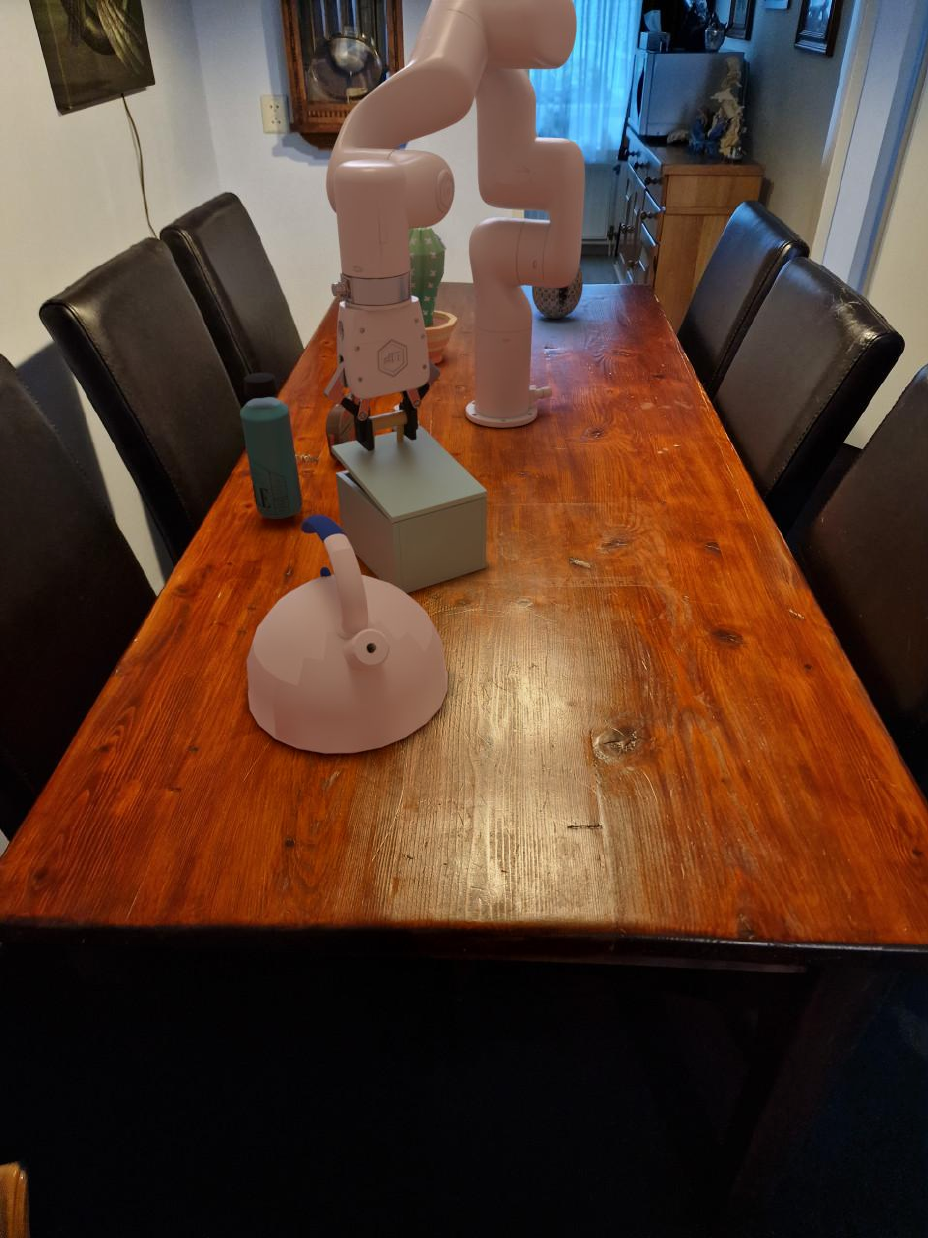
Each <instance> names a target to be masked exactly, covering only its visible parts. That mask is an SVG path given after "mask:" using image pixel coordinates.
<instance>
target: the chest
mask: <svg viewBox="0 0 928 1238" xmlns="http://www.w3.org/2000/svg"><path fill="white" fill-rule="evenodd" d="M335 478H336V479H335V480H336V488H337V489H336V490H337V498H338V508H339V517H340V518H339V520H340V528H341V529H342V530H343V532H344V533H345V534H346V537H347V539H348V541H349V542H350V544H351V546H352V548H353V550H354V553H355V556H356V557H358V559H360V561H362V562H363V563H364V564H365V566H366V567H368V569H369V570H371V572H372V573H373V574H374V575H375V576H376V577H377V579H378V580H381V581H384V582H387V583H390V584H392V585H394V586H395V587H397V588H399V589H401V590H402V591H404V592H405V593H406V594H409V593H413V592H415V591H418V590H422V589H424V588H427V587H430V586H434V585H437V584H441V583H443V582H446V581H449V580H452V579H456V578H459V577H462V576H464V575H467V574H468V575H469V574H471V573H473V572H477V571H480V570H483V569H486V568H487V539H488V537H487V535H488V533H487V532H488V528H487V527H488V496H486V497H483V498H479V499H476V500H472V501H469V502H465V503H461V504H458V505H454V506H451V507H447V508H444V509H440V510H437V511H433V512H430V513H426V514H422V515H419V516H415V517H412V518H408V519H405V520H401V521H398V522H394V523H392V522H391V521H390V520H389V519H388V518H387V516H386V515H385V514H384V513H383V512H382V510H381V509H380V508H379V507H378V506H377V505H376V503H375V502H374V501H373V500H372V499H371V497H370V496H369V495H368V494H367V493H366V492H365V490H364V489H363V488H362V487H361V486H360V484H359V483H358V482H357V481H356V480H355V479H354V477H353V476H352V475H351V474H350V473H349V471H348V470H347V469H345V470H342V471H338V472H335Z"/></svg>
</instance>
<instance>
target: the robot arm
mask: <svg viewBox="0 0 928 1238" xmlns="http://www.w3.org/2000/svg"><path fill="white" fill-rule="evenodd" d="M576 11H577V10H576V7H575V3H574V1H573V0H431V2H430V4H429V7H428V9H427V12H426V15H425V17H424V19H423V22H422V24H421V27H420V30H419V33H418V35H417V37H416V41H415V43H414V46H413V48H412V50H411V53H410V55H409V59H408V60H407V64H406V65H405V67H403V68H401V69H400V70H399V71H397V72H395V73H394V74H393V75H391V76H390V77H388V78H387V79H385V81H383V82H382V83H381V84H379V85H378V86H377V87H376V88H374V89H373V90H372V91H371V92H369V93H368V94H367V95H365V96H364V97H363V98H362V99H361V100H360V101H358V103H357V104H356V105H355V106H353V108H352V109H351V110H350V112H349V113H348V115H346V118H345V119H344V121H343V123H342V126H341V128H340V130H339V133H338V136H337V138H336V140H335V143H334V146H333V148H332V150H331V153H330V156H329V162H328V165H327V169H326V176H325V177H326V178H325V191H326V197H327V201H328V202H329V205H330V207H331V209H332V211H333V212H334V213H335V214H336V223H337V235H338V245H339V255H340V267H341V272H340V274H339V277H340V279H339V281H337V282H334V283H331V287H330V289H331V293H332V295H333V297H341V298H342V299H343V301H340V302H339V305H338V313H337V323H336V324H337V325H336V357H337V358H336V359H337V360H336V361H337V367H336V370H335V372H334V374H333V376H332V378H331V379H330V380H329V382H328V383H327V386H326V387H325V389H324V391H323V394H324V396H325V397H326V398H327V399H328V400H329V401H331V402H333V403H334V404H335V405H336V404H338V405H340V406H342V407H343V408H345V409H346V410H347V411H349V412H350V413H351V414H353V417H354V428H355V437H356V440H357V442H358V443H360V444H361V445H362V446H363V447H364V448H365V449H367V450H368V451H371V450H373V449H374V437H373V424H372V420H371V419H370V418H369V417H368V410H369V406H370V405H371V400H372V398H378V397H382V396H387V395H392V394H397V393H400V395H401V398H402V401H399V403H398V405H399V410H404V411H405V412H406V414H407V424H405V425H404V435H405V436H406V437H407V438H408V439H410V440H416V439H417V436H416V430H418V421H419V418H418V417H419V415H418V414H419V413H418V409H419V408H421V406H422V400H423V399H424V398H425V396H426V395H427V394H428V392H429V391H430V388H431V386H433V384H434V383H435V382H436V381H438V379H439V377H440V376H441V371H440V369H439V368H438V367H437V366H436V364H433V363H432V362H431V361H430V359H429V354H428V345H427V337H426V330H425V325H424V319H423V315H422V310H421V306H420V302H419V299H418V298H417V297H415V296H412V294H411V271H410V248H409V229H414V228H420V229H421V228H425V227H427V228H431V227H432V226H435V225H438V224H439V223H440V222H441V221H443V220H444V218H445V217H447V215H448V213H449V212H450V210H451V208H452V206H453V202H454V198H455V188H456V186H455V178H454V174H453V171H452V169H451V167H450V165H449V163H448V162H447V161H446V160H445V159H444V158H443V157H441V156H440V155H439V154H436V153H434V152H431V151H426V150H414V149H413V150H412V149H411V150H410V149H407V150H406V149H398V147H400V146H402V145H404V144H406V143H409V142H412V141H415V140H418V139H420V138H423V137H427V136H430V135H432V134H435V133H438V132H440V131H442V130H445V129H447V128H449V127H451V126H453V125H455V124H457V123H459V122H460V121H461V120H463V119H464V118H465V117H466V116H467V115H468V114H469V112H470V110H471V109H472V107H473V104H474V101H475V104H476V105H475V106H476V131H477V132H476V134H477V135H476V136H477V137H476V138H477V139H476V140H477V145H476V147H477V151H476V152H477V182H478V190H479V195H480V198H481V200H482V201H483V202H484V203H485V204H486V205H488V206H490V207H493V208H496V209H503V210H504V209H505V210H518V211H535V212H545V213H546V214H547V216H548V219H537V218H527V217H513V216H512V217H511V216H494V217H488V218H486V219H483V220H482V221H480V222H478V223H477V224H476V225H475V226H474V228H473V229H472V231H471V232H470V236H469V240H468V257H469V263H470V270H471V275H472V282H473V283H472V284H473V296H474V297H473V298H474V400H471V402H469V403H468V404H467V405H466V406H465V417H466V418H467V420H469V421H471V422H472V423H474V424H477V425H480V426H482V427H483V426H484V427H489V428H498V429H499V428H500V429H502V428H504V429H507V428H515V427H516V428H517V427H521V426H524V425H528V424H529V423H531V422H533V421H534V420H535V419H536V418H537V416H538V408H537V406H536V405H535V403H537V401H538V400H542V399H547V398H551V397H552V394H553V391H552V388H551V386H549V385H546V386H542V387H539V388H538V386H537V385H536V384H532V385H531V384H530V383H531V363H532V362H531V361H532V360H531V359H532V338H533V337H532V335H533V317H534V316H533V309H532V306H531V305H532V304H531V303H530V301H529V299H528V297H527V295H526V293H525V292H524V290H523V288H522V287H523V286H524V287H525V286H526V287H532V286H537V287H550V288H562V287H566V286H568V285H570V284H571V283H572V282H573V281H574V279H575V278H576V276H577V273H578V269H579V267H580V263H581V255H582V241H583V240H582V239H583V222H584V204H585V190H586V166H585V165H586V164H585V158H584V153H583V152H582V151H583V150H582V149H581V147H580V146H579V145H578V143H576V141H574V140H571V139H568V138H563V137H540V136H539V135H538V133H537V94H536V92H535V89H534V86H533V83H532V82H531V79H530V78H529V75H528V74H527V72H526V71H525V70H557V69H559V68H561V67H563V66H564V65H565V63H567V62H568V60H569V58H570V57H571V55H572V53H573V50H574V47H575V44H576V40H577V32H578V31H577V30H578V29H577V28H578V20H577V19H578V18H577V12H576ZM344 388H345V389H348V390H349V392H351V399H349V398H347V397H346V396H345V395H344V393H342V391H343V389H344Z"/></svg>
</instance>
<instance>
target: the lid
mask: <svg viewBox="0 0 928 1238" xmlns="http://www.w3.org/2000/svg"><path fill="white" fill-rule="evenodd" d="M369 418H370V419H371V420H372V424H373V437H374V449H373V450H371V451H368V450H367V449H365V448H364V447H363V446H362V445H361V444H360V443H358V442H357V440H356V441H352V442H348V443H343V444H339V445H334V446H331V447H332V453H333V454H334V455H335V456H336V457H337V458H338V460H339V461H338V462H340V463H341V464H342V466H343V467H344V468H345V470H348V471H349V473H350V474H351V475H352V476H353V477H354V479H355V480H356V481H357V482H358V483H359V484H360V486H361V487H362V488H363V489H364V490H365V492H366V493H367V494H368V495H369V496H370V497H371V499H372V500H373V501H374V502H375V503H376V505H377V506H378V507H379V508H380V509H381V510H382V512H383V513H384V514H385V515H386V516H387V518H388V519H389V520H390V521H391V522H392V523H394V522H398V521H401V520H405V519H408V518H412V517H415V516H419V515H422V514H426V513H430V512H433V511H437V510H440V509H444V508H447V507H451V506H454V505H458V504H461V503H465V502H469V501H472V500H476V499H479V498H483V497H488V490H487V489H486V488H485V487H484V486H483V485H482V484H481V483H480V482H479V481H478V480H477V479H476V478H475V477H474V476H473V475H472V474H471V473H470V472H469V471H468V470H467V469H466V468H465V467H463V466H462V465H461V464H460V463H459V461H457V459H456V458H454V456H453V455H451V454H450V453H449V452H448V451H447V450H446V449H445V448H444V447H443V446H442V444H440V443H439V442H438V441H437V440H436V439H435V438H434V437H433V436H432V435H431V434H430V433H429V432H428V431H427V430H426V429H425V428H424V426H422V425H419V426H418V430H416V436H417V439H416V440H410V439H408V438H407V437H406V436H405V435H404V425H405V424H407V414H406V412H405V411H404V410H398V411H394V410H393V411H390V412H384V413H380V414H375V415H372V416H371V417H369ZM396 426H397V431H395V432H392V431H391V432H388V433H382V434H378V435H376V432H379V431H384V430H387V429H390V428H391V429H392V427H396Z"/></svg>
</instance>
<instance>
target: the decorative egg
mask: <svg viewBox="0 0 928 1238" xmlns="http://www.w3.org/2000/svg"><path fill="white" fill-rule="evenodd" d="M583 282H584V281H583V273H582V270H581V267H580V266H579V269H578V273H577V276H576V278H575V279H574V281H573V282H572V283H571V284H570V285H568V286H566V287H562V288H550V287H537V286H531V294H532V301H533V303H534V306H535V307H536V309H537V311H539V313H540V314H541V315H542V316H544V317H546V318H548V319H552V320H559V319H562V318H565V317H567V316H569V315H570V314H572V313H573V312H574V311H575V310H576V308H577V306H578V305H579V303H580V301H581V298H582V294H583V287H584V286H583Z"/></svg>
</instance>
